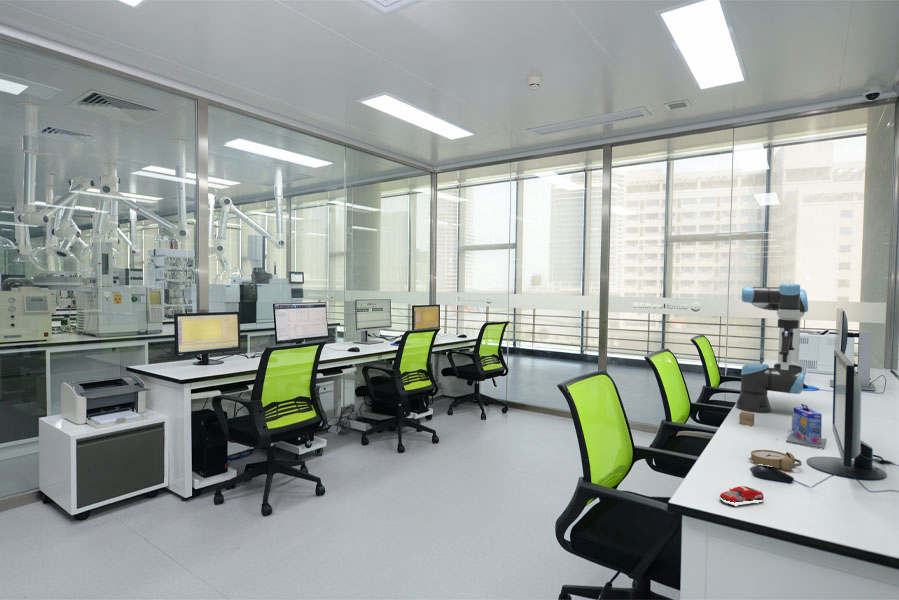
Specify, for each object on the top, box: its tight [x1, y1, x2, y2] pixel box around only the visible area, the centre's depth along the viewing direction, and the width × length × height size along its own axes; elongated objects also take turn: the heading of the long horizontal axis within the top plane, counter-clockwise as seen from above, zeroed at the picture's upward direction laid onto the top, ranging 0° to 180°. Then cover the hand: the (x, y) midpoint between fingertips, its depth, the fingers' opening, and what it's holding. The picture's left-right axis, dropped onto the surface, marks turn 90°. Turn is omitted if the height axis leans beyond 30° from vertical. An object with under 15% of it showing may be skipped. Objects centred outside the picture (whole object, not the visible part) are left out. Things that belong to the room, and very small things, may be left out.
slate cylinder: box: [791, 414, 794, 432], centre depth 208 cm, size 5×5×7 cm
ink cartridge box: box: [792, 403, 823, 444], centre depth 194 cm, size 10×6×14 cm, turn 175°
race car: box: [719, 485, 765, 503], centre depth 139 cm, size 13×5×4 cm, turn 105°
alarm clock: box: [748, 449, 803, 472], centre depth 169 cm, size 11×5×15 cm
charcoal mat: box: [785, 432, 827, 450], centre depth 195 cm, size 14×12×1 cm
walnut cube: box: [738, 411, 755, 427], centre depth 218 cm, size 5×5×5 cm
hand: (786, 367), depth 209 cm, fingers open, 13 cm apart
